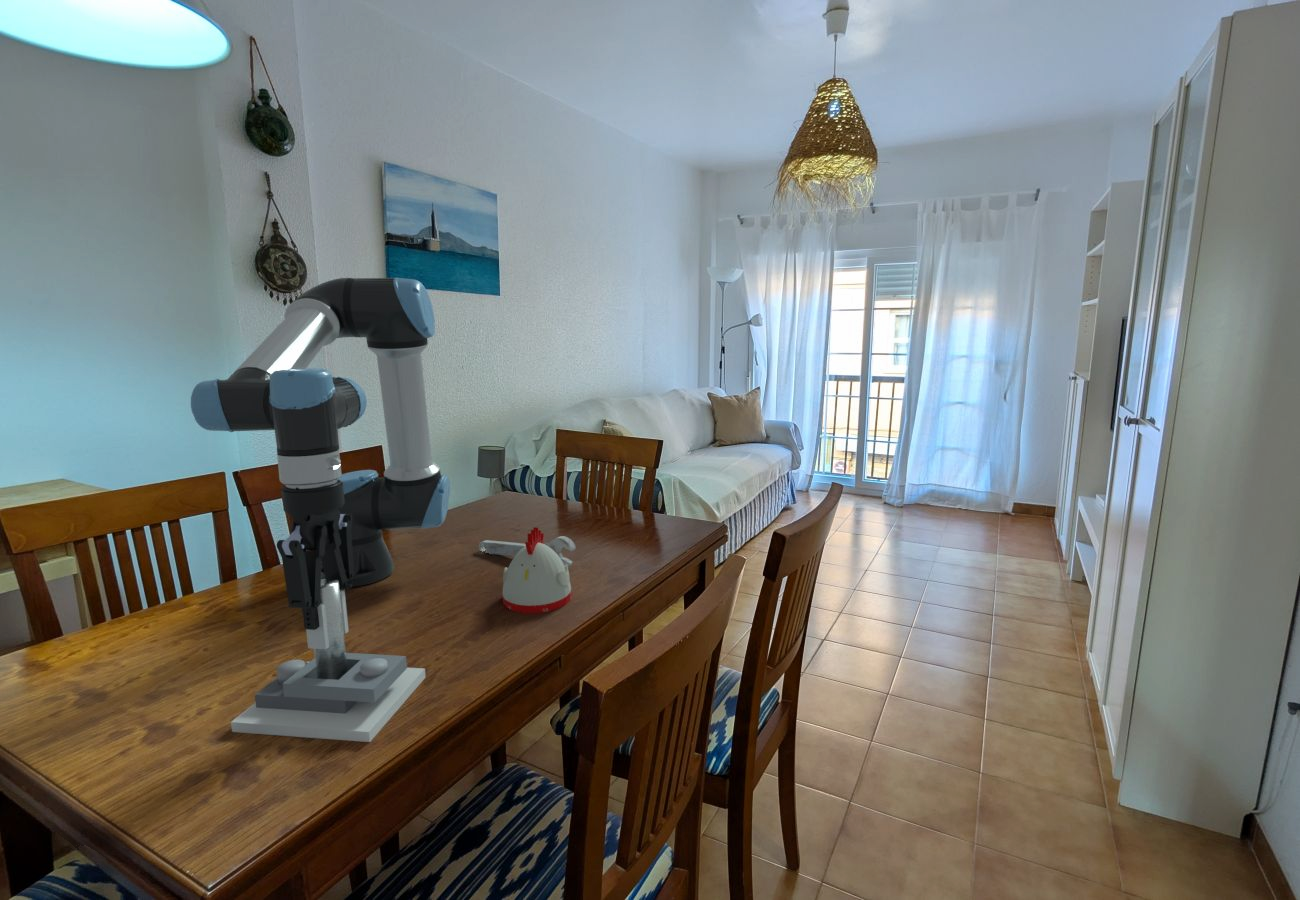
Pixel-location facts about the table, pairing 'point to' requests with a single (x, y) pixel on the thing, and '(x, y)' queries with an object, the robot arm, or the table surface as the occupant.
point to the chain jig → (331, 699)
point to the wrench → (514, 548)
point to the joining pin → (332, 634)
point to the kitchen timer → (536, 578)
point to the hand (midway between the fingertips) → (328, 639)
